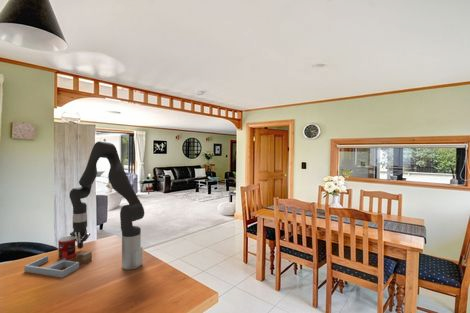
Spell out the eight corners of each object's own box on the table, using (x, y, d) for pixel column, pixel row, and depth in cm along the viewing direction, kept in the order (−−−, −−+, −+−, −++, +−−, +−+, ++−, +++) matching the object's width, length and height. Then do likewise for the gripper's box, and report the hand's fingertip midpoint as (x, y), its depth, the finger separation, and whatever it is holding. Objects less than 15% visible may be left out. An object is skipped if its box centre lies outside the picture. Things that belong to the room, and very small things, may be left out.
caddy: (82, 266, 128) (82, 260, 128) (62, 277, 117) (62, 271, 117) (47, 261, 133) (46, 255, 133) (24, 271, 122) (24, 265, 122)
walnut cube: (91, 260, 136) (91, 251, 135) (84, 264, 131) (84, 255, 131) (84, 259, 137) (84, 250, 136) (76, 263, 132) (76, 254, 132)
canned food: (60, 255, 140) (60, 237, 140) (76, 253, 144) (76, 235, 143) (57, 261, 133) (56, 241, 133) (74, 258, 137) (74, 239, 136)
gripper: (94, 219, 149) (94, 246, 149) (76, 217, 152) (76, 244, 152) (84, 222, 141) (84, 251, 142) (65, 221, 144) (65, 249, 145)
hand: (80, 248), depth 147 cm, fingers closed
